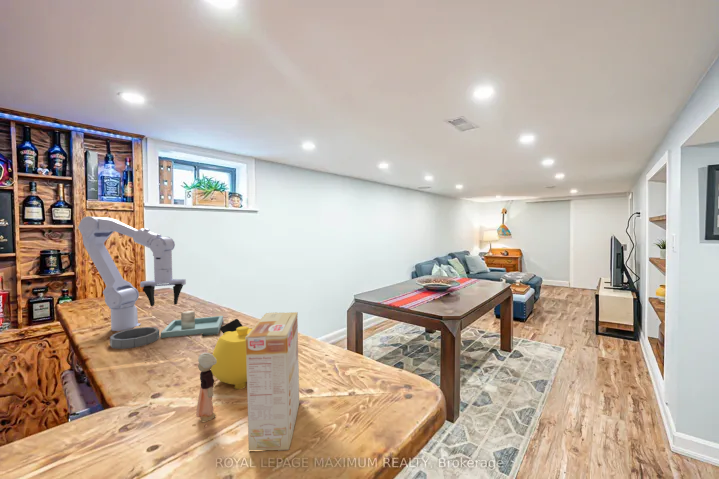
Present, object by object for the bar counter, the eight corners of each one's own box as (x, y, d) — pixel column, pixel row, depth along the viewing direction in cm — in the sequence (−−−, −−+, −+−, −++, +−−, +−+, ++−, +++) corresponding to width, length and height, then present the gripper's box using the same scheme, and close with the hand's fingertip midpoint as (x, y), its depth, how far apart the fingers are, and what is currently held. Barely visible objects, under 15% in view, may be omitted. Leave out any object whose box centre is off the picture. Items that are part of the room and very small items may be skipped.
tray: (173, 326, 121) (172, 320, 121) (223, 321, 127) (222, 315, 127) (160, 340, 106) (160, 332, 106) (218, 334, 111) (218, 327, 111)
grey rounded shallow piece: (120, 339, 107) (120, 329, 107) (163, 335, 111) (163, 325, 111) (103, 353, 95) (102, 342, 94) (151, 347, 99) (151, 337, 98)
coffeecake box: (266, 403, 66) (265, 312, 65) (300, 401, 66) (299, 311, 66) (246, 453, 51) (243, 336, 51) (289, 451, 52) (287, 334, 51)
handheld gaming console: (253, 339, 101) (234, 315, 102) (235, 353, 100) (216, 329, 101) (262, 332, 113) (246, 311, 113) (246, 345, 112) (230, 323, 112)
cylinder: (182, 327, 117) (182, 311, 117) (195, 326, 118) (195, 310, 118) (180, 331, 113) (179, 314, 112) (193, 329, 114) (193, 313, 114)
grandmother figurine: (190, 412, 63) (188, 350, 62) (210, 405, 65) (208, 345, 65) (203, 429, 57) (201, 362, 57) (224, 420, 60) (223, 356, 60)
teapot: (246, 360, 88) (245, 316, 88) (295, 378, 77) (294, 328, 76) (198, 379, 77) (197, 329, 77) (247, 404, 65) (246, 345, 65)
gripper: (136, 271, 111) (137, 308, 111) (182, 269, 115) (183, 305, 116) (143, 269, 118) (144, 304, 118) (186, 267, 122) (187, 301, 122)
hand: (164, 304), depth 117 cm, fingers open, 7 cm apart
